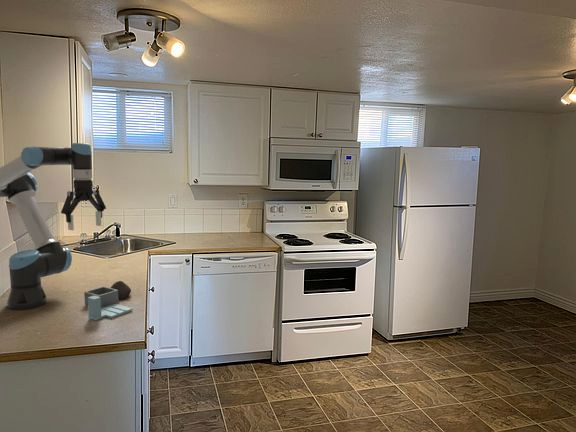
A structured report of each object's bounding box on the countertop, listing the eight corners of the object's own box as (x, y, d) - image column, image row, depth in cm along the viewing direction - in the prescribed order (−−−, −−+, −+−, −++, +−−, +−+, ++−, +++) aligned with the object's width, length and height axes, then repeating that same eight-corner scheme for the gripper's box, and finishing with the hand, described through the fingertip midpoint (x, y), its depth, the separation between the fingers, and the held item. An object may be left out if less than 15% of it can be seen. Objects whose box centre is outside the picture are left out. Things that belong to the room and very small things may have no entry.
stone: (133, 303, 213) (132, 285, 218) (130, 295, 206) (128, 276, 212) (112, 308, 210) (110, 289, 216) (108, 300, 204) (107, 281, 209)
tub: (84, 304, 199) (84, 292, 198) (104, 298, 207) (103, 286, 206) (99, 309, 194) (98, 296, 193) (118, 302, 202) (118, 290, 202)
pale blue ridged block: (83, 316, 184) (82, 295, 183) (115, 305, 198) (114, 286, 197) (100, 321, 179) (99, 300, 178) (132, 310, 193) (132, 290, 191)
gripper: (61, 181, 180) (63, 232, 183) (113, 178, 201) (114, 224, 204) (50, 180, 184) (53, 230, 187) (102, 177, 205) (104, 223, 208)
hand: (85, 227), depth 195 cm, fingers open, 13 cm apart
